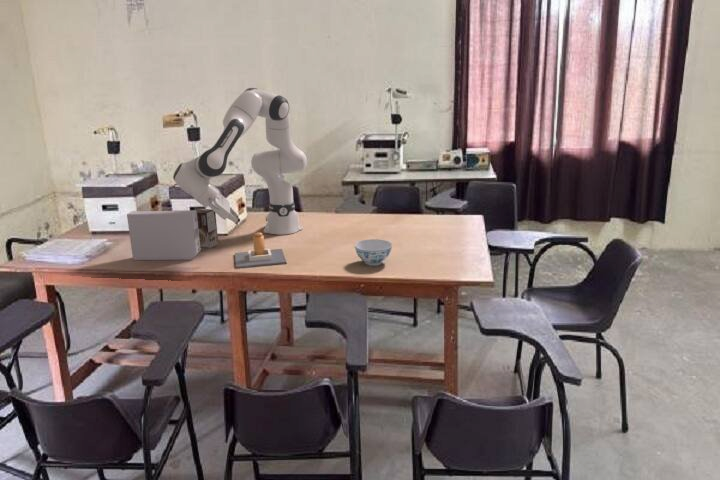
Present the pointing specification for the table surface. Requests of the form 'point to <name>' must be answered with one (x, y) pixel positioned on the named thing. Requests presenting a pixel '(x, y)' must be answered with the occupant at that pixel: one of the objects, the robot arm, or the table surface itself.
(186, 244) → the game console
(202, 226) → the coffee box
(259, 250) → the orange cylinder
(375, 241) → the chinaware
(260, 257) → the holder
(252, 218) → the table surface
